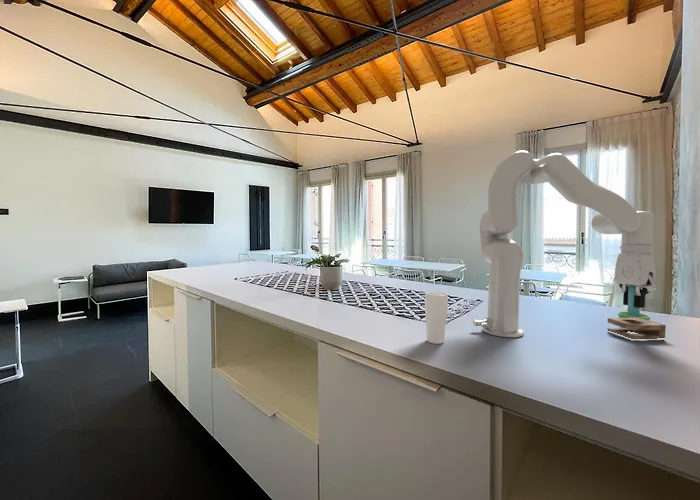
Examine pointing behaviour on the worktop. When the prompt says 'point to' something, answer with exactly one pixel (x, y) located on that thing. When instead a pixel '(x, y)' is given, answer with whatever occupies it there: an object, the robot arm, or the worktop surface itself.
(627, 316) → the ramekin
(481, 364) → the worktop surface
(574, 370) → the worktop surface
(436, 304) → the drinking glass
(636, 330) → the block
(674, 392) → the worktop surface
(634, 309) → the peg
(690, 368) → the worktop surface
